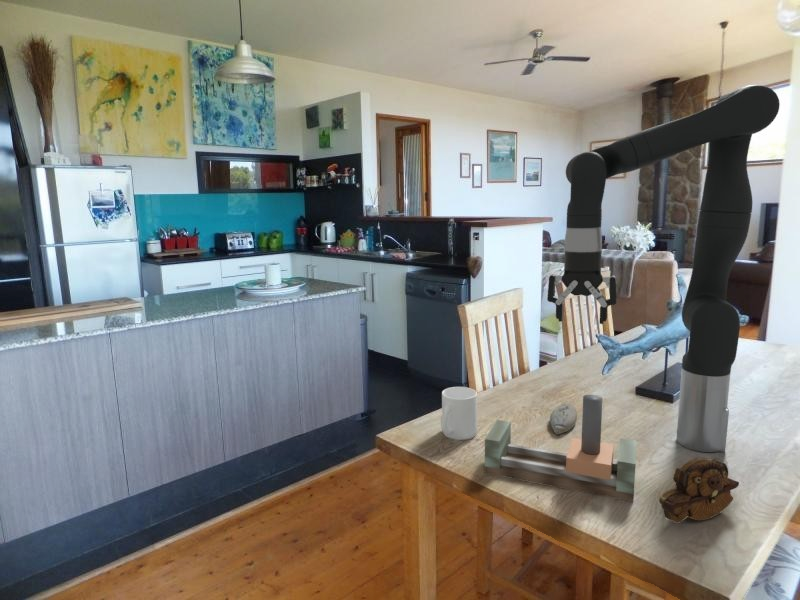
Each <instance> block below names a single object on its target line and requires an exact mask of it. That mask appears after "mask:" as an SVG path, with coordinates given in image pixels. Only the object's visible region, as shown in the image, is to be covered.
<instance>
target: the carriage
mask: <svg viewBox="0 0 800 600" xmlns="http://www.w3.org/2000/svg"><path fill="white" fill-rule="evenodd" d="M581 415H582V417H581V420H582V421H581V438H574V437H571V441H570V444H569V448H568V450H567V453H566V454H567V457H566V472H569V473H574V474H580V475H585V476H591V477H596V478H602V479H607V480H610V479H611V471H612V463H613V460H614V446H615V444H614V443H607V442H602V441H601V440H602V436H601V435H602V422H603V421H602V417H603V397H602V396H600V395H597V394H585V395H583V396H582V413H581Z"/></svg>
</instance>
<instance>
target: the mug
mask: <svg viewBox="0 0 800 600" xmlns="http://www.w3.org/2000/svg"><path fill="white" fill-rule="evenodd" d="M441 408H442V409H441V413H442V414H441V420H440V421H441V422H440V423H441V425H440V426H441V431H442V433H443V434H444V435H445V436H446V438H448V439H451V440H456V441H467V440H470V439H472V438H474V437H475V436H476V435H477V431H478V392H477V390H475V389H473V388H471V387H467V386H452V387H447V388H445V389H443V390H442V391H441Z"/></svg>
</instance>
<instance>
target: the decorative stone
mask: <svg viewBox="0 0 800 600" xmlns="http://www.w3.org/2000/svg"><path fill="white" fill-rule="evenodd" d="M577 418H578V411H577V408H576V407H575V405H573V404H572V403H568V402H567V403H566V402H565V403H561V404H559V405H557V406H556V407H555V408H554V409H553V410H552V411H551V413H550V416H549V422H550V426H551V428H552V430H553V433H555V434H556V435H561V434H562V433H563V434H564V433H566V432H568V431H570V430H571V429H573V428H574V427H575V426H576V423H577V420H578V419H577Z"/></svg>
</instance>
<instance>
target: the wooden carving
mask: <svg viewBox="0 0 800 600" xmlns="http://www.w3.org/2000/svg"><path fill="white" fill-rule="evenodd" d="M674 469H675V470H674V473H673V477H672V479H673V482H674V483H675V488H672V489H668V490H667V491H664V492H663V494H662V495H661V496H659V498H658V503H659V505H660V506H661V509H662V511H663V514H664V518H665V519H667V520H669V521H673V522H674V523H676V524H679V523H682V522H683V521H684V520H685V519H687V518H690V519H693V520H695V521H705V520H709V519H711V518H713V517H715V516H717V515H718V514H719V515H720V514H721V513H722V512H723V511H724V510H726V508H727V507H729V505H730V504H731V503H732V502H733V501H734V497H733V496H732V493H731V491H732V490H735V489H736V488H738V487H739V485H740V482H739V481H736V480H735V479H732V478H729V477H728V476H729V468H728V466H727V464H726V463H725V462H724V461H723V462H722V461H719V460H718V459H717V458H714V459H711V460H710V459H708V458H701V457H698V458H697V457H696V458H693V459H691V460H688V461H686V462H685V463H684V464H683V465H681V466H680V467H675V468H674Z"/></svg>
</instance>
